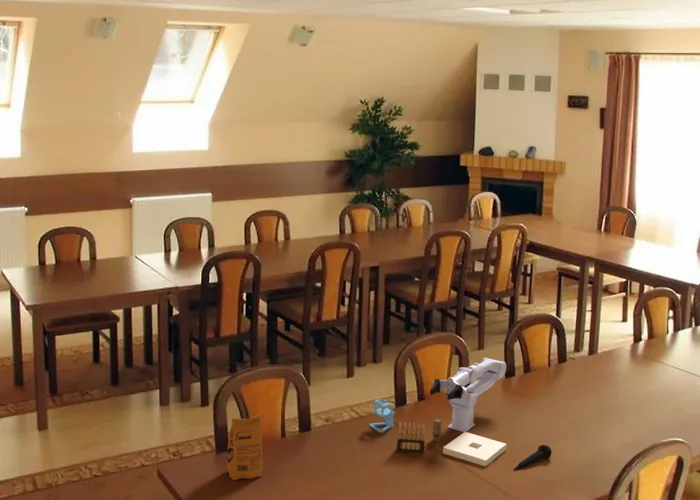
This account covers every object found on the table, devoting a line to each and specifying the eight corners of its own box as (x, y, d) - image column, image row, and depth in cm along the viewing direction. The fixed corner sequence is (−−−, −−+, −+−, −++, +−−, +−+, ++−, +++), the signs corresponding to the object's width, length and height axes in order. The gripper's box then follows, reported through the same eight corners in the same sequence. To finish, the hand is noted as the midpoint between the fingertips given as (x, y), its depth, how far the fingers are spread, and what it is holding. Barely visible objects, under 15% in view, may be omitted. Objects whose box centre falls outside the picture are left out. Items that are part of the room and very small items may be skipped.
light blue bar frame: (396, 428, 364) (398, 401, 362) (380, 433, 360) (381, 405, 357) (385, 422, 370) (386, 394, 368) (369, 426, 366) (370, 398, 363)
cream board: (464, 437, 358) (464, 431, 357) (505, 449, 348) (506, 443, 347) (443, 453, 343) (443, 447, 343) (485, 466, 333) (486, 460, 333)
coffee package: (225, 469, 325) (225, 412, 320) (259, 465, 329) (259, 409, 324) (229, 482, 316) (229, 424, 311) (264, 478, 319) (264, 420, 314)
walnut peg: (434, 437, 357) (435, 418, 355) (441, 439, 355) (442, 420, 354) (430, 440, 354) (431, 421, 353) (437, 442, 353) (438, 423, 351)
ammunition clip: (424, 451, 345) (425, 422, 342) (424, 453, 343) (425, 424, 340) (396, 449, 346) (397, 420, 343) (396, 451, 344) (397, 422, 341)
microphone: (518, 479, 331) (552, 459, 343) (521, 468, 328) (556, 448, 340) (507, 470, 334) (541, 450, 346) (510, 459, 331) (545, 439, 343)
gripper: (440, 369, 361) (423, 380, 350) (473, 378, 353) (456, 389, 342) (440, 385, 363) (423, 397, 352) (472, 394, 355) (455, 406, 344)
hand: (439, 394), depth 347 cm, fingers open, 7 cm apart
